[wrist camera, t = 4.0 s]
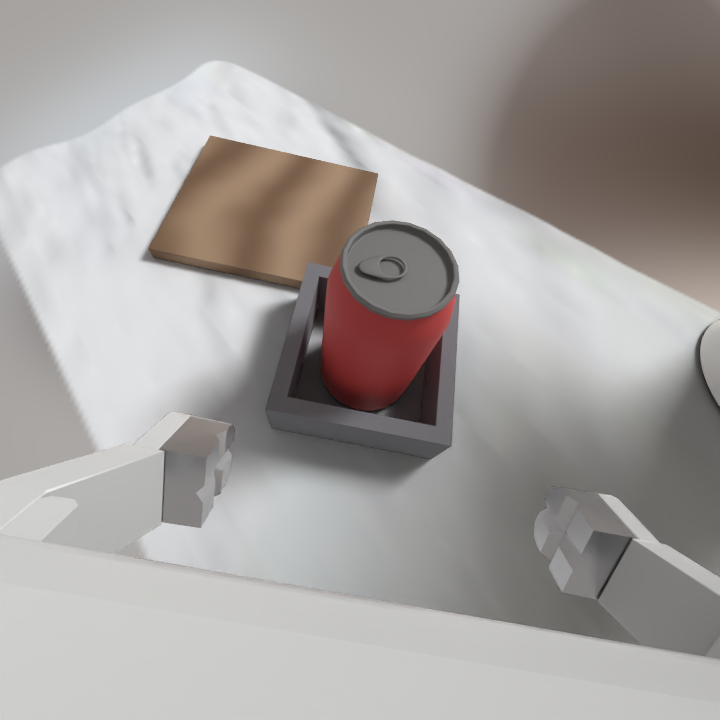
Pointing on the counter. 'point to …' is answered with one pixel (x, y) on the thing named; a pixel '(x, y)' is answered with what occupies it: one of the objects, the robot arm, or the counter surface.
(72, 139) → the counter surface
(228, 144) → the walnut board
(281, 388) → the can collar
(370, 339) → the beer can
